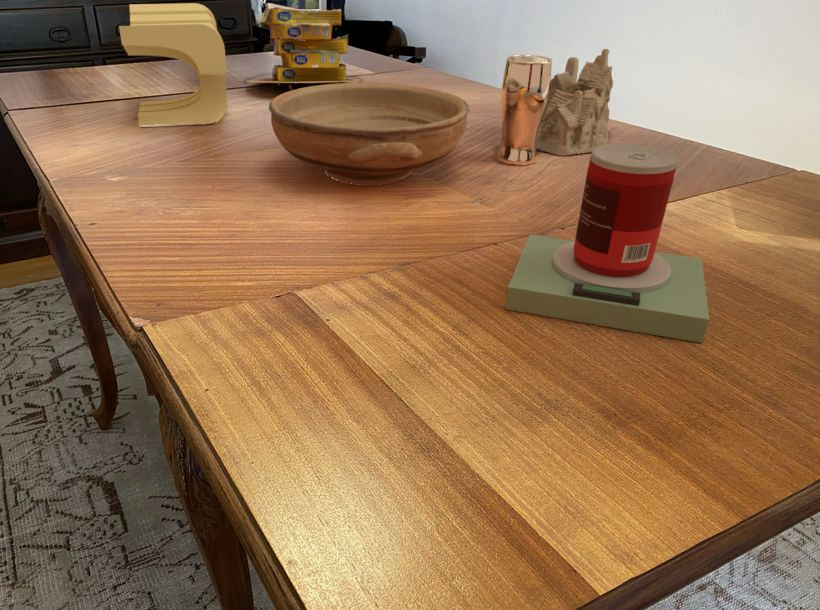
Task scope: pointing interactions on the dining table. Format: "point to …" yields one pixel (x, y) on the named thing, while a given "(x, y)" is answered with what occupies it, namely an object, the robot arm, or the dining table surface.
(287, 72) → the stacked yellow boxes
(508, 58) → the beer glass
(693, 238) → the dining table surface
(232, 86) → the dining table surface
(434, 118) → the ceramic bowl
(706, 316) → the kitchen scale
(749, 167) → the dining table surface
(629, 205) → the canned food
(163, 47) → the yellow c-shaped bracket
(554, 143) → the ceramic cottage
